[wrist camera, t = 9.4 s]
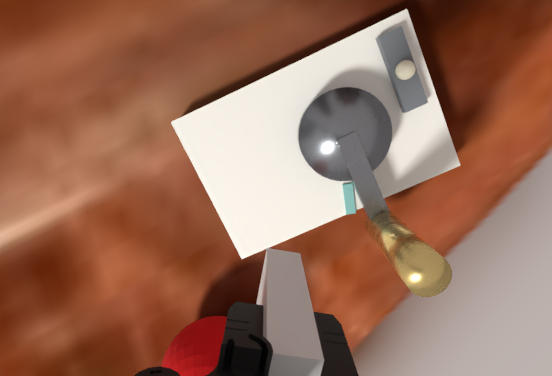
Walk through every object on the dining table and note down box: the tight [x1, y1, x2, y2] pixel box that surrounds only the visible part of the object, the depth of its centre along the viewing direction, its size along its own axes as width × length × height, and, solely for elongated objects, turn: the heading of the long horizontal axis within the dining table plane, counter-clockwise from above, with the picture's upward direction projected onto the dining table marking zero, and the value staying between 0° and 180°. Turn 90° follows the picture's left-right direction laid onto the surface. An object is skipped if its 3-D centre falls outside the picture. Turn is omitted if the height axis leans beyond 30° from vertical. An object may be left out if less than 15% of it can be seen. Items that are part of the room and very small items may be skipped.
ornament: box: [161, 316, 227, 376], centre depth 29 cm, size 9×9×10 cm
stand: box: [171, 9, 460, 259], centre depth 28 cm, size 13×20×4 cm, turn 115°
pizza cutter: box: [298, 87, 452, 297], centre depth 23 cm, size 13×7×10 cm, turn 25°
